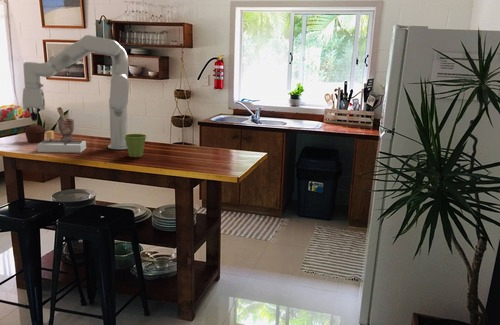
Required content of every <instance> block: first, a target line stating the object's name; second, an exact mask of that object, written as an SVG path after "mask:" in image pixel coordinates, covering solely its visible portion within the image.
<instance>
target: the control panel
mask: <svg viewBox="0 0 500 325" xmlns="http://www.w3.org/2000/svg"><path fill="white" fill-rule="evenodd" d="M36 146H37V153H77V154H78V153H80V154H81V153H82V152H83V151H85V150H86V149H87V141H86V140H74V141H71V140H69V141H61V140H53V139H52V142H49V139H44V141H42V142H41V143H37V145H36Z"/></svg>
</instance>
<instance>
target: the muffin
mask: <svg viewBox="0 0 500 325" xmlns="http://www.w3.org/2000/svg"><path fill="white" fill-rule="evenodd" d="M23 132H24V133H25V134H24V135H25V137H26V141H27V143H28V144H39V143H41V142H42V141H44V140H45V134H46V132H47V130H46V129H45V128H44V127H43V126H41V125H39V124H31V125H28V126H27V127H26V128H25V130H24V131H23Z"/></svg>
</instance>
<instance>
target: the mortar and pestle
mask: <svg viewBox="0 0 500 325" xmlns="http://www.w3.org/2000/svg"><path fill="white" fill-rule="evenodd" d="M56 109H57V112H58V114H59V116H60V118H61V119H57V122H58V123H57V124H58V130H59V132H60V134H61V135H62V137H61V138H60V141H69V140H71V141H75V140H74V138H73V137H72V134H73V133H74V128H75V126H74V124H75V123H74V120H75V119H71V118H66V117H65V113H64V110H63V108H62V107H57V108H56Z"/></svg>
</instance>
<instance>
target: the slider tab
mask: <svg viewBox="0 0 500 325" xmlns="http://www.w3.org/2000/svg"><path fill="white" fill-rule="evenodd" d="M45 134H46V140H49V142H52V140H53V139H54V138H55V130H46V132H45Z"/></svg>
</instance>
